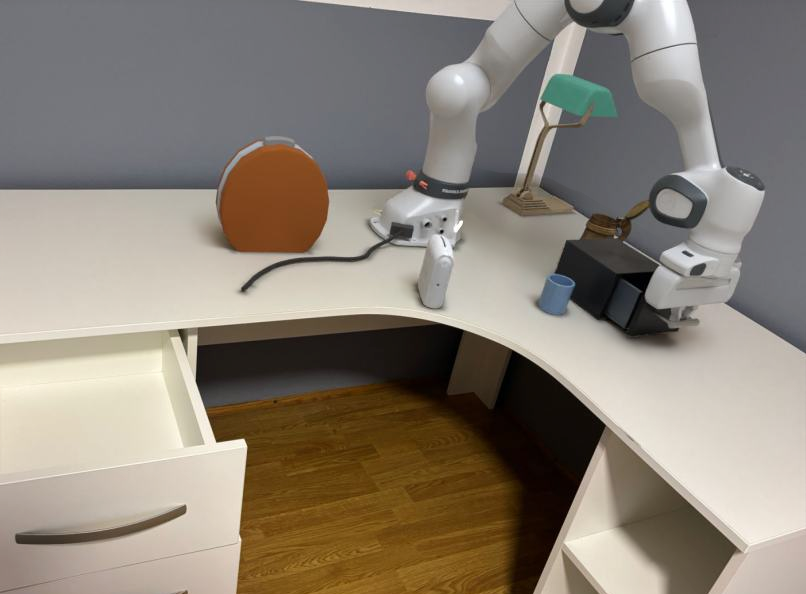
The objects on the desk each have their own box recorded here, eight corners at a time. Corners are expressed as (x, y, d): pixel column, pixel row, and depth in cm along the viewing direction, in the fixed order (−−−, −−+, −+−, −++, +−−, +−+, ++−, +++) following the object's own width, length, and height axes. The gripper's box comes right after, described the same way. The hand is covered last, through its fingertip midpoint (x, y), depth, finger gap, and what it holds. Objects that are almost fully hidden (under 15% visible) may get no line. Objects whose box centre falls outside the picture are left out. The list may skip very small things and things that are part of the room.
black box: (648, 314, 150) (668, 270, 144) (597, 319, 143) (616, 273, 138) (599, 280, 161) (616, 238, 156) (550, 283, 155) (566, 239, 150)
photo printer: (443, 310, 136) (459, 252, 129) (422, 307, 135) (437, 249, 129) (435, 285, 144) (449, 230, 138) (415, 283, 144) (428, 227, 137)
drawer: (698, 346, 139) (718, 307, 134) (650, 352, 133) (668, 312, 128) (627, 297, 154) (643, 260, 149) (581, 300, 148) (596, 263, 143)
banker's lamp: (493, 198, 199) (530, 70, 181) (546, 196, 209) (586, 74, 191) (530, 221, 188) (573, 87, 170) (584, 217, 198) (630, 90, 180)
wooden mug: (628, 277, 166) (658, 205, 156) (571, 263, 167) (597, 191, 158) (623, 262, 173) (652, 193, 164) (569, 249, 175) (594, 180, 165)
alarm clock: (310, 233, 157) (325, 132, 145) (322, 253, 149) (339, 148, 137) (211, 230, 149) (218, 124, 137) (218, 251, 141) (226, 140, 130)
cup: (548, 316, 141) (559, 287, 138) (532, 302, 145) (541, 274, 142) (570, 314, 144) (580, 286, 140) (553, 300, 148) (563, 273, 144)
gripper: (730, 248, 135) (700, 311, 142) (655, 252, 126) (627, 318, 133) (758, 263, 130) (725, 327, 137) (681, 268, 122) (651, 336, 129)
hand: (676, 323), depth 135 cm, fingers closed, pressing on drawer
